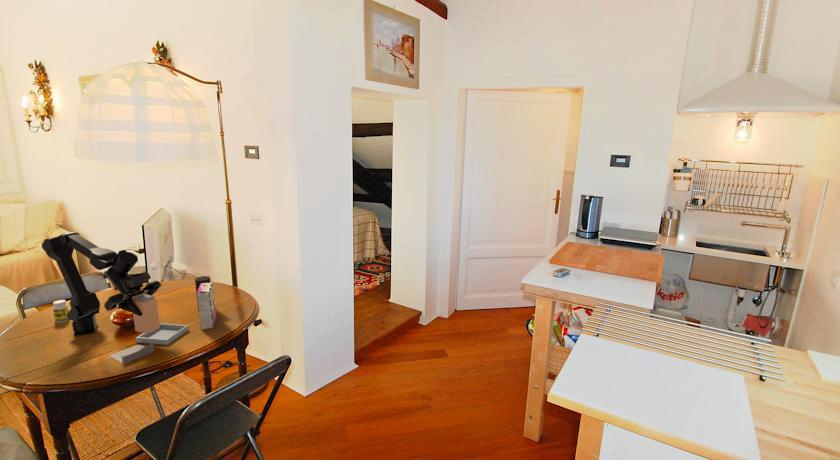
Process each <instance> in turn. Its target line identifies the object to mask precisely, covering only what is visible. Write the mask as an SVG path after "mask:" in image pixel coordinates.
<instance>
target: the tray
mask: <svg viewBox="0 0 840 460" xmlns="http://www.w3.org/2000/svg"><path fill="white" fill-rule="evenodd" d="M159 323H160V328H159V329H157V330H154V331H152V332H150V333H148V334H147V333H141V334H139V335H138V336H136V337H135V341H136V343H138V344H147V345H150V344H153V345H161V346H168V345H169V344H171V343H173V342H174V341H175V340H177V339H178V338H180V337H181V336H182V335H184V334H186V333H188V332H189V331H190V328H189V325H187V324H174V323H161V322H159Z"/></svg>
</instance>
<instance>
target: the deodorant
mask: <svg viewBox="0 0 840 460" xmlns="http://www.w3.org/2000/svg"><path fill="white" fill-rule="evenodd" d="M194 283H195V292H196V293H195V294H196V295H197V291H198V289H199V286H200V284H201V283H211V277H210V276H206V275H205V276H203V275H202V276H198V277H196V278H194ZM196 301H197V302H196V303H197V305H198V299H197V298H196ZM197 311H198V312H199V307H198V306H197Z"/></svg>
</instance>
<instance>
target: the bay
mask: <svg viewBox="0 0 840 460" xmlns="http://www.w3.org/2000/svg"><path fill="white" fill-rule="evenodd" d="M154 352H155V344H147V345H146V346H144V345H142V344H141V343H138V344H136V345H133V346H130V347H128V348H125V349H123V350H121V351H118V352H115V353H113V354H110V355H109V357H110V358H112V359H115V361H118V362H120V363H121V364H123V365H125V364H128V363H130V362H132V361H136V360H137V359H140V358H143V357H145V356H147V355H149V354H151V353H154Z"/></svg>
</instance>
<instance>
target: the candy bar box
mask: <svg viewBox="0 0 840 460" xmlns="http://www.w3.org/2000/svg"><path fill="white" fill-rule="evenodd" d="M210 282H211V281H210ZM197 299H198V304H197V308H198V307H199V311H198V314H199V324H200V330H202V331H203V330H204V331H205V330H211V329H214V328H215V324H216V320H217V310H216V302H215V301H216V300H215V294H214V284H213V282H211V283H201V284H200V286H199V289H198V291H197V294H196V300H197Z"/></svg>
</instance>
